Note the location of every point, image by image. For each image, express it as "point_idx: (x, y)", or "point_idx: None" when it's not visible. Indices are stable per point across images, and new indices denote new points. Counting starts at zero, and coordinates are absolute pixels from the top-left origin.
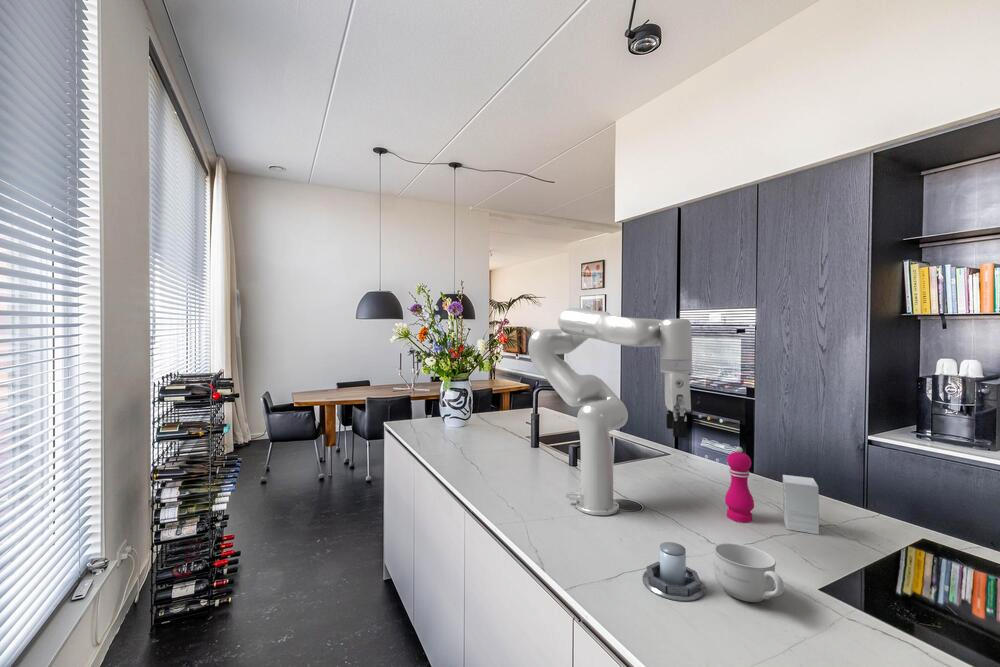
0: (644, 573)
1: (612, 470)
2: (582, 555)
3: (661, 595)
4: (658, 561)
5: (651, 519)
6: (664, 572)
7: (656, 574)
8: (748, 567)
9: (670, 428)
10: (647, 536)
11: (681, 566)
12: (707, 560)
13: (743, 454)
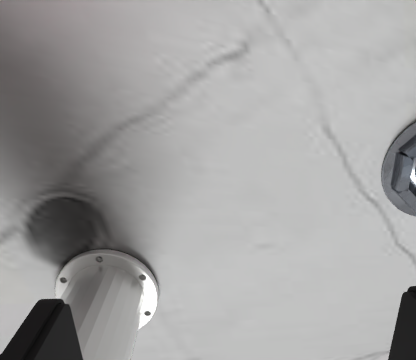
0: (409, 213)
1: (82, 340)
2: (341, 305)
3: None
4: (399, 193)
5: (139, 179)
6: None
7: (413, 193)
8: None
9: (76, 356)
10: (239, 195)
11: None
12: (339, 80)
13: None
